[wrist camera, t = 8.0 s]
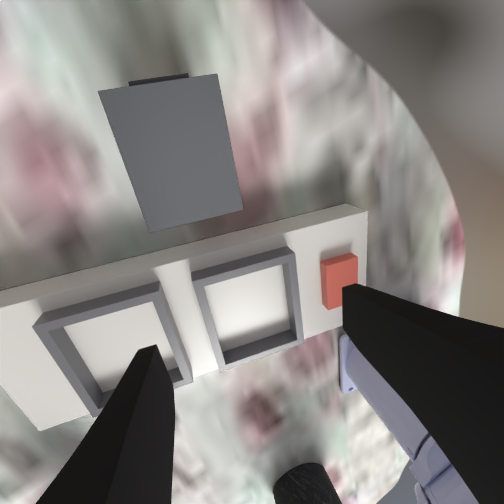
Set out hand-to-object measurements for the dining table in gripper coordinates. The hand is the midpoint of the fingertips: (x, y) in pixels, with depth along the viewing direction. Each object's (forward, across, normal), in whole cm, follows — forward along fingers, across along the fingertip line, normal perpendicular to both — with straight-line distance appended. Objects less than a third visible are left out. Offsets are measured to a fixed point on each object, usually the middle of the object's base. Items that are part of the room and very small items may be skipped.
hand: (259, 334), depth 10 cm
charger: (+9, +1, -6) cm, 11 cm away
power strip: (+9, +2, +4) cm, 10 cm away
